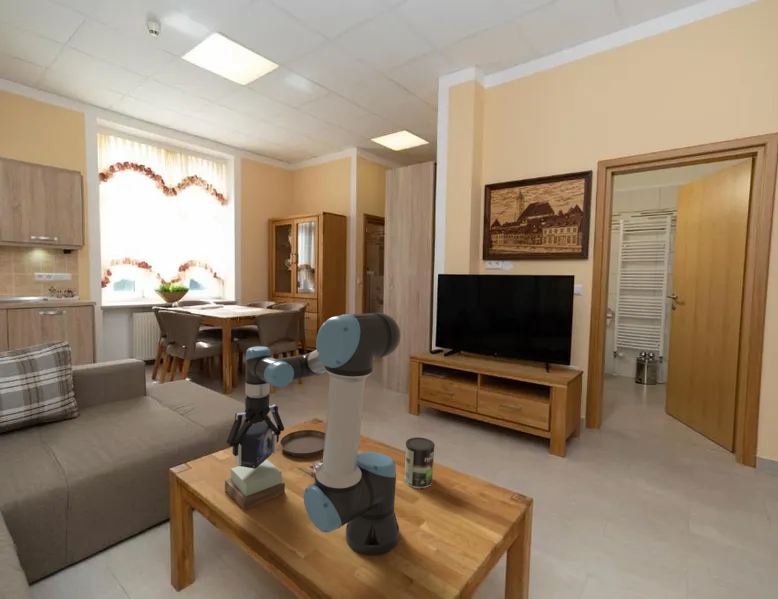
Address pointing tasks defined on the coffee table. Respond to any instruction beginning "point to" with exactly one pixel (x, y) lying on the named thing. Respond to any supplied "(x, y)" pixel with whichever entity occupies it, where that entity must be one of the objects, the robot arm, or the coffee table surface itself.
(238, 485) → the top slab
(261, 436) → the small box
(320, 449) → the plant saucer
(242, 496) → the base slab
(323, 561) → the coffee table surface
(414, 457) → the coffee can
